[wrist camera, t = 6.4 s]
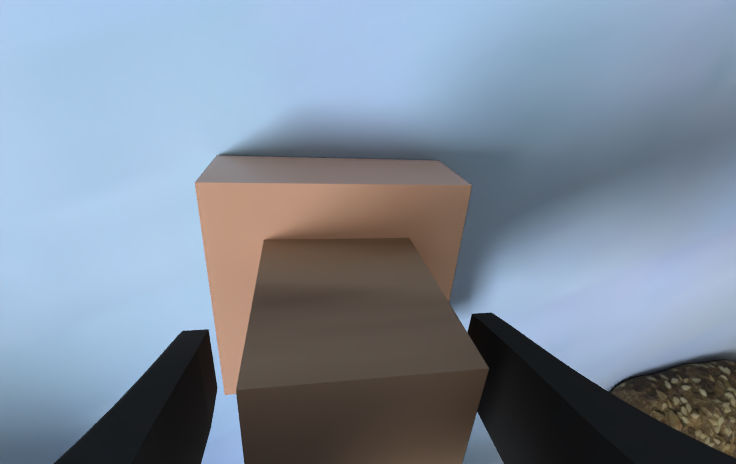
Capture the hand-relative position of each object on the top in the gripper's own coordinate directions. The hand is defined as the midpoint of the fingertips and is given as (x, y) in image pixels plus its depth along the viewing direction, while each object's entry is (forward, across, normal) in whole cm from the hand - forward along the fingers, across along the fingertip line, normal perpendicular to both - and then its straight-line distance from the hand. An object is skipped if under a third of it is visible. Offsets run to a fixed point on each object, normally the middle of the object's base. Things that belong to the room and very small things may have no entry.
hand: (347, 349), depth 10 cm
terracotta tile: (+5, 0, 0) cm, 5 cm away
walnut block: (+2, 0, 0) cm, 2 cm away
